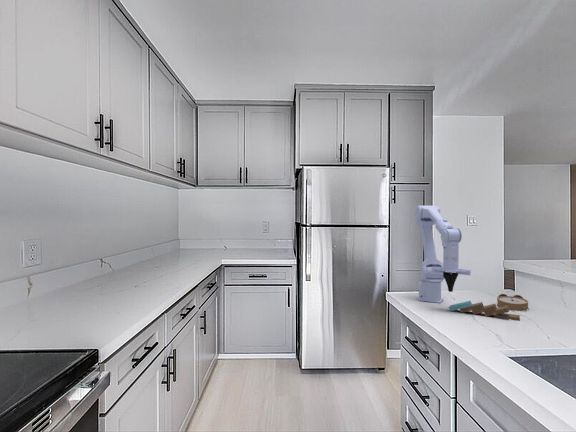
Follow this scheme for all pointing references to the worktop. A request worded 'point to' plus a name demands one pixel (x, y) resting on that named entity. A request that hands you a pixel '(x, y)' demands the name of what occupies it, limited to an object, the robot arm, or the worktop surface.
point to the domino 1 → (472, 307)
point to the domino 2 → (485, 309)
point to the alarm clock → (512, 302)
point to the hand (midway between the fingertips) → (450, 291)
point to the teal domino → (460, 305)
